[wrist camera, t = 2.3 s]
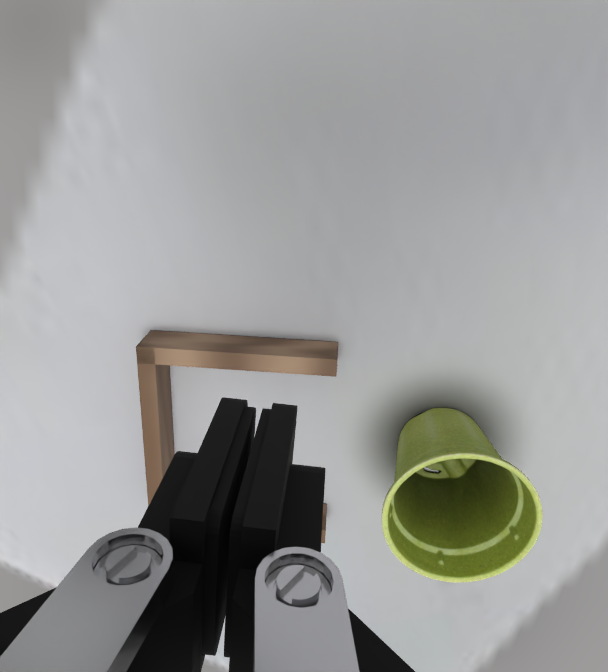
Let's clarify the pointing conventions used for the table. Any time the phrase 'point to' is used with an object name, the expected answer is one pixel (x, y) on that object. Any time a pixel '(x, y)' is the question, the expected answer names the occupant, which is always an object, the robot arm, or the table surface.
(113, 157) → the table surface
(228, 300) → the table surface
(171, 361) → the dock
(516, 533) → the plant pot
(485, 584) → the table surface
